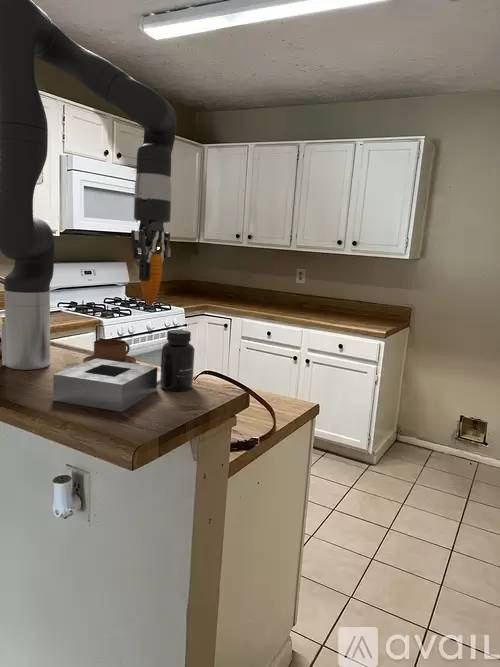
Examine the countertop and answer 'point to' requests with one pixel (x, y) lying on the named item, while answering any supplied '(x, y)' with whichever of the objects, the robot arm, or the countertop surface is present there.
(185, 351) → the supplement bottle
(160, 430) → the countertop surface
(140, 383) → the metal housing
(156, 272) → the carrot
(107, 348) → the cup and saucer
